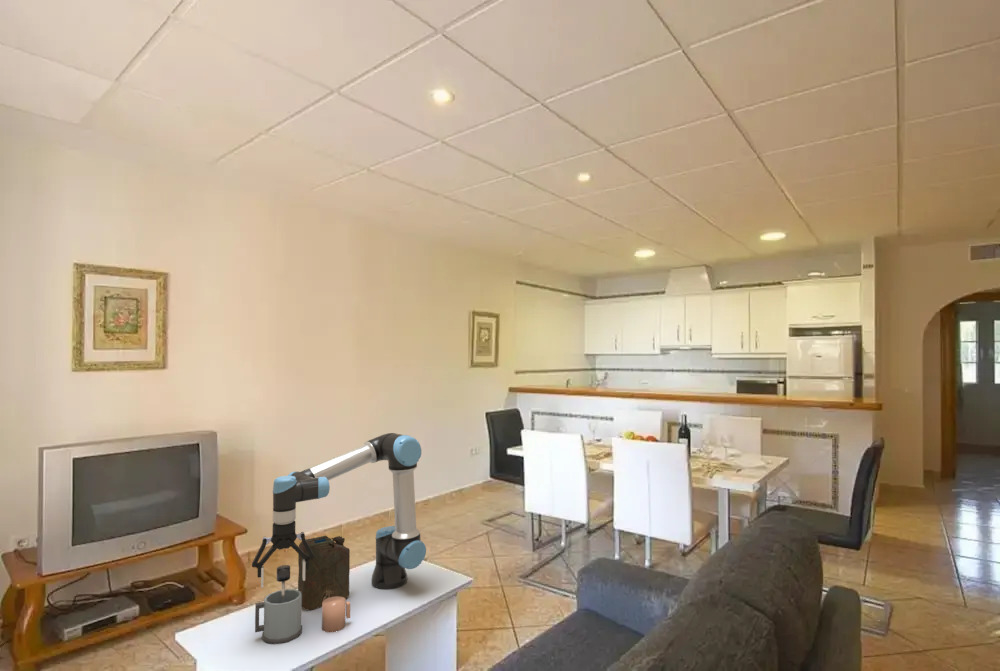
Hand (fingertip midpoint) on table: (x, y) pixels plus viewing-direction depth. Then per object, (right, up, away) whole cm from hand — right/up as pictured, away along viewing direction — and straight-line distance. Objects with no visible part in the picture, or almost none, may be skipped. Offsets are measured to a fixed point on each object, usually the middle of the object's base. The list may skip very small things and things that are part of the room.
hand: (283, 582), depth 187 cm
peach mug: (+16, -18, +4) cm, 25 cm away
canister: (+6, -19, +24) cm, 31 cm away
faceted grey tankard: (-1, -18, -1) cm, 18 cm away
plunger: (0, -13, -1) cm, 13 cm away
